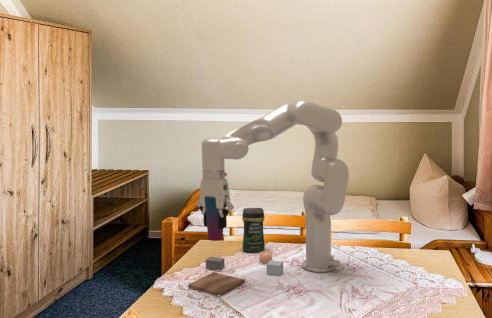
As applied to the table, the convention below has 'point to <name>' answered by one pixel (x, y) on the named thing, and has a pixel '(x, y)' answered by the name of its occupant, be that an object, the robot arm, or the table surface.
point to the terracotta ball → (265, 257)
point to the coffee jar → (253, 230)
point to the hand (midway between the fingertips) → (215, 226)
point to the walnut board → (216, 283)
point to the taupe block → (214, 263)
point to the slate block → (274, 268)
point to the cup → (213, 220)
